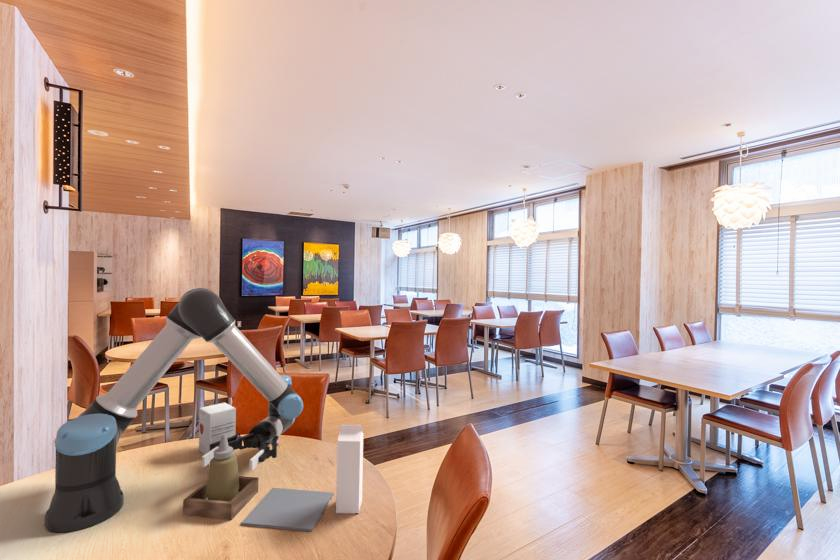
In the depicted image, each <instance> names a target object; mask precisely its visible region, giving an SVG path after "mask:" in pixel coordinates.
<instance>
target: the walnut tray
mask: <svg viewBox="0 0 840 560" xmlns="http://www.w3.org/2000/svg"><path fill="white" fill-rule="evenodd" d="M238 476H239V490H238V493H237V495H236V496H235V497H234V498H233V499H232V500H231V501H218V500H208V498H207V496H206V488H207V481H205V482H204V483H203V484H201V485H200V486H199V487H197V488H196V489H195V490H194V491H192V492H191V493H190V494H189V495H187V496H186V497H185V498H184V499H183V500H182V517H183V516H184V517H196V518H204V519H216V520H225V521H227V520H228V521H232V520H233V519H234V518H235V517H236V515H238V514H239V513H240V511H242V509H244V508H245V507H246V506H247V504H248V503H249V502H250V501H251V500H252V499H253V498H254V497H255V496H256V495H257V494H258V493H259V477H254V476H243V475H238Z"/></svg>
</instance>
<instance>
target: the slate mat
mask: <svg viewBox="0 0 840 560" xmlns="http://www.w3.org/2000/svg"><path fill="white" fill-rule="evenodd" d="M334 493H335V492H331V491H330V492H329V491H319V490H318V491H316V490H305V489H294V488H282V487H281V488H280V487H272V488H271V489H270V490H269V491H268V492H267V493H266V495H265V496H264V497H263V498H262V499H261V500H260V501H259V502H258V504H257V505H256V506H255V507H254V508H253V509H252V510H251V511H250V512H249V514H248V515H247V516H246V517H244V519H243V520H242V521H241V522H240V525H241V526H247V527H259V528H269V529H279V530H280V529H281V530H291V531H303V532H313V531H314V529H315V527H316V526H317V524H318V522H319V520H320V519H321V517H322V515H323V514H324V512H325V511H326V509H327V507H328V505H329V504H328V503H330V502H331V500H332V499H333V497H334V495H335V494H334ZM332 496H333V497H332ZM329 501H330V502H329ZM325 508H326V509H325ZM316 523H317V524H316ZM315 525H316V526H315Z"/></svg>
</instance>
